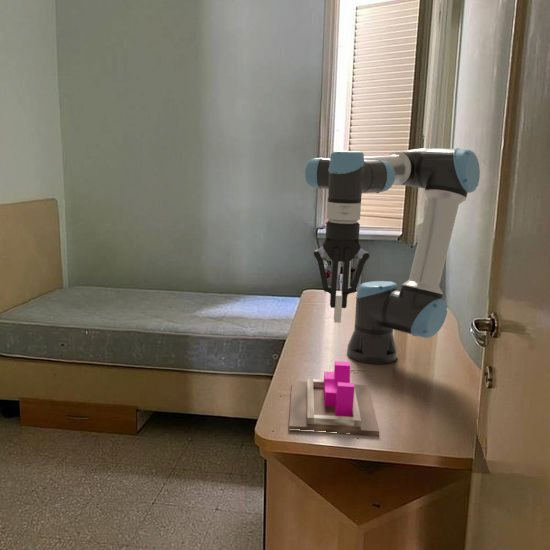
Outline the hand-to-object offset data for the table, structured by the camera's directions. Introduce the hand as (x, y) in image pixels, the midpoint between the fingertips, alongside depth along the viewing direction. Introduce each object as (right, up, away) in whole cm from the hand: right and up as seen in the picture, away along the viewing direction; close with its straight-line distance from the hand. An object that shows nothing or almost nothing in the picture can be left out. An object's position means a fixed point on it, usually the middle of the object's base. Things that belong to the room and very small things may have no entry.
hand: (337, 320), depth 126 cm
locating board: (-1, -22, +5) cm, 22 cm away
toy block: (+1, -21, +6) cm, 21 cm away
